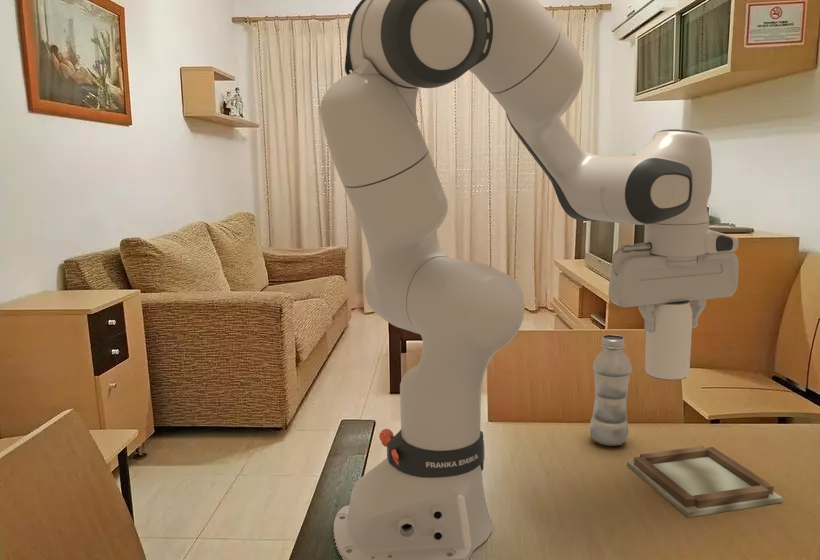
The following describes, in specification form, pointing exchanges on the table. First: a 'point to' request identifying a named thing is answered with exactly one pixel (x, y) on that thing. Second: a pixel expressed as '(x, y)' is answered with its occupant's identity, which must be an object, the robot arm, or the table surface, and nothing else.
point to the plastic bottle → (610, 392)
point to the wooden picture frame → (703, 481)
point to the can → (669, 342)
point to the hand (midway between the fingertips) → (671, 329)
